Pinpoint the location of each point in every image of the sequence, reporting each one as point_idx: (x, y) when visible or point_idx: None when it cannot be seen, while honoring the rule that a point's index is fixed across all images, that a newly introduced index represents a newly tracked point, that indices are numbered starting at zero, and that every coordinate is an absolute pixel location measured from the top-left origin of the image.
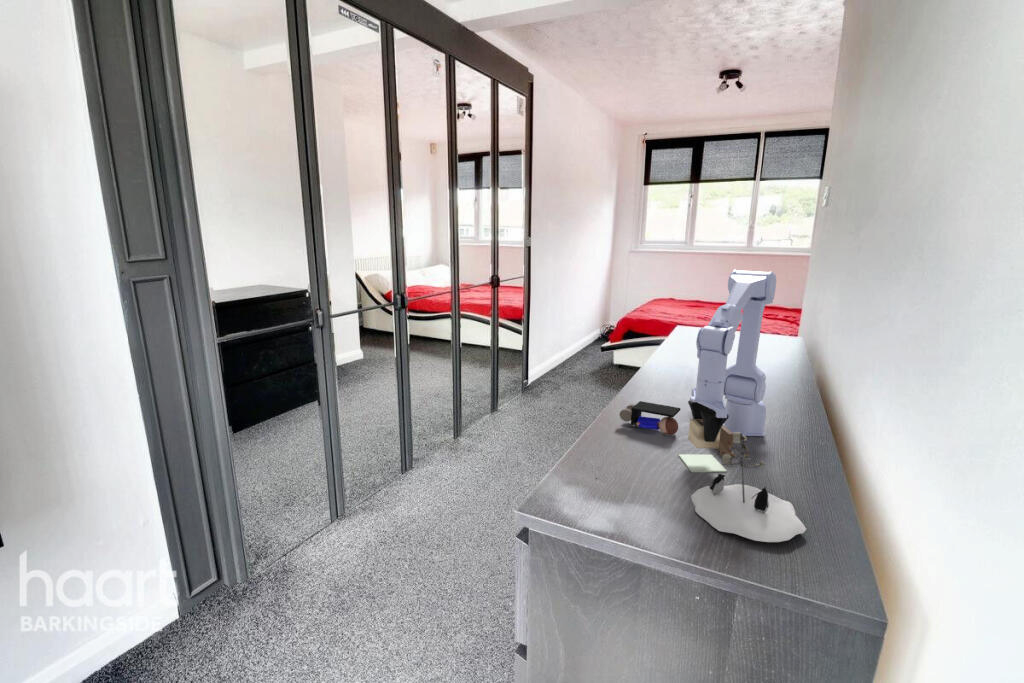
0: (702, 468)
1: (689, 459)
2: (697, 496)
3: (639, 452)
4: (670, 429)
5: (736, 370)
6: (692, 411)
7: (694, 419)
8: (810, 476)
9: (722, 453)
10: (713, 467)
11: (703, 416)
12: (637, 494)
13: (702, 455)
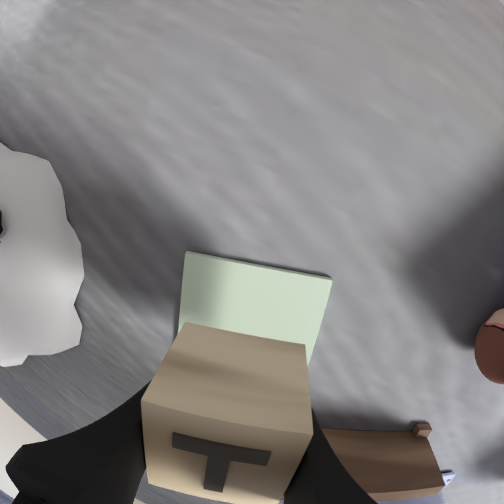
0: (197, 305)
1: (278, 299)
2: (16, 168)
3: (398, 122)
4: (486, 340)
5: None
6: (340, 490)
7: (295, 451)
8: (159, 490)
9: None
10: None
11: (38, 457)
12: (89, 4)
13: None
